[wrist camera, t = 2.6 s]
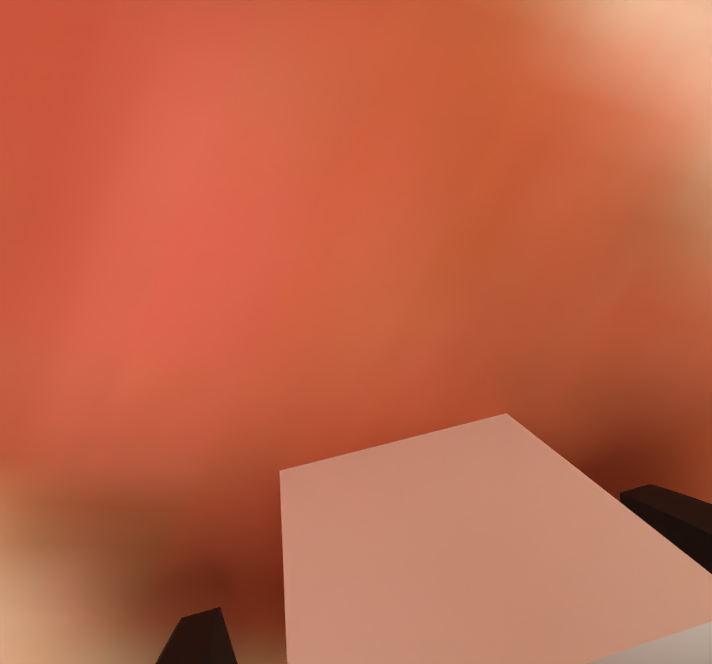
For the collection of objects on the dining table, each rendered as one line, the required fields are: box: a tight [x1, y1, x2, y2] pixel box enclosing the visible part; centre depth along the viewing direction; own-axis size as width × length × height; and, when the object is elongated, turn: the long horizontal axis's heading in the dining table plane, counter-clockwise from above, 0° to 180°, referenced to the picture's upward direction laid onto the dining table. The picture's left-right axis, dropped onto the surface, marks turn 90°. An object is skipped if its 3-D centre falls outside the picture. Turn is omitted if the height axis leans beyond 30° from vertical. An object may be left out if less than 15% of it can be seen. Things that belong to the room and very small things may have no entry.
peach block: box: [280, 413, 712, 664], centre depth 7 cm, size 4×4×5 cm
